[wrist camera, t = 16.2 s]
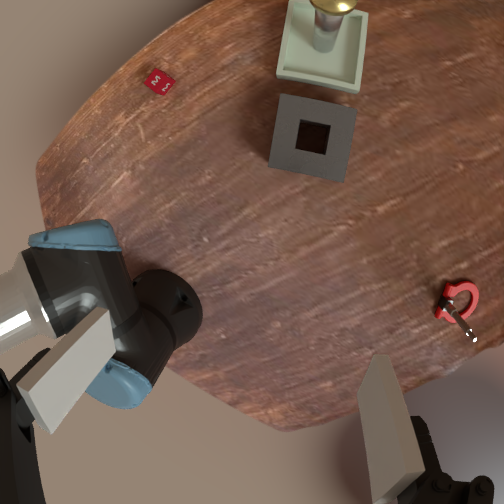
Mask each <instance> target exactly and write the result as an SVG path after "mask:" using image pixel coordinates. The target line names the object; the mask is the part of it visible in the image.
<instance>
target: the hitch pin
mask: <svg viewBox="0 0 504 504" xmlns="http://www.w3.org/2000/svg"><path fill="white" fill-rule="evenodd" d="M309 1H310V3H311V5H312V6H313V7H314V8H315V19H314V31H313V42H312V44H313V47H314V49H315V50H317V51H318V52H320V53H329V52H331V51H332V50H333V49H334V46H335V43H336V40H337V37H338V33H339V30H340V27H341V24H342V21H343V17H344V15H347V14H349V13H350V12H352V11H353V10H354V8H355V6H356V4H357V1H358V0H309Z"/></svg>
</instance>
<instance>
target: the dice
mask: <svg viewBox="0 0 504 504" xmlns="http://www.w3.org/2000/svg"><path fill="white" fill-rule="evenodd" d="M175 82H176V81H175V80H174V79H172V78H171V77H170V76H168V75H167V74H166V73H165V72H163V71H161V70H159V69H157V68H155V70H154V71H153V72H152V73H151V74H150V76H149V77H148V78H147V79H146V81H145V82H144V84H145V85H147V86H148V87H149V88H150V89H152V90H153V91H154V92H155V93H158V94H161V95H165V94H166V93H167V91H168V90H169V89H170V88H171V86H172V85H173V84H174V83H175Z"/></svg>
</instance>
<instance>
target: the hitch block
mask: <svg viewBox="0 0 504 504" xmlns="http://www.w3.org/2000/svg"><path fill="white" fill-rule="evenodd" d="M356 114H357V109H354V108H350V107H346V106H342V105H338V104H334V103H329V102H325V101H320V100H315V99H310V98H305V97H300V96H294V95H288V94H282V93H280V99H279V105H278V111H277V117H276V122H275V128H274V134H273V140H272V146H271V151H270V157H269V163H268V167H271V168H276V169H281V170H287V171H292V172H297V173H302V174H306V175H311V176H316V177H320V178H325V179H329V180H334V181H338V182H342V183H344V178H345V174H346V169H347V164H348V159H349V153H350V148H351V143H352V137H353V132H354V126H355V120H356ZM300 123H305V124H310V125H314V126H319V127H324V128H327V134H326V140H325V145H324V150H323V155H322V154H318V153H313V152H308V151H304V150H299V149H296V143H297V138H298V132H299V126H300Z"/></svg>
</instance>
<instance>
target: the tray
mask: <svg viewBox="0 0 504 504" xmlns="http://www.w3.org/2000/svg"><path fill="white" fill-rule="evenodd" d="M314 19H315V8H314V7H313V6H312V5H311V3H310V1H309V0H289V3H288V9H287V15H286V20H285V26H284V31H283V37H282V43H281V48H280V54H279V60H278V65H277V71H276V76H277V78H278V79H285V80H291V81H297V82H303V83H308V84H313V85H318V86H323V87H328V88H332V89H337V90H341V91H345V92H349V93H353V94H357V93H358V92H359V90H360V83H361V76H362V68H363V60H364V52H365V43H366V33H367V22H368V13H366V12H362V11H358V10H353V11H352V12H350V13H349V14H347V15H344V17H343V21H342V24H341V27H340V30H339V33H338V37H337V40H336V43H335V46H334V49H333V50H332V51H331V52H329V53H320V52H318V51H317V50H315V49H314V47H313V44H312V42H313V31H314Z"/></svg>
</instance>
